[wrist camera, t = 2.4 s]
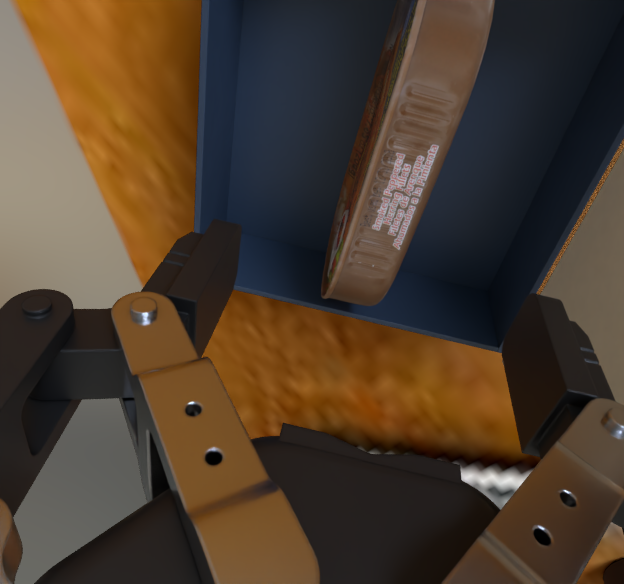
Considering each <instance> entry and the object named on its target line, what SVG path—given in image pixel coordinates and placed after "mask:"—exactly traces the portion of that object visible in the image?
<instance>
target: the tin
mask: <svg viewBox="0 0 624 584" xmlns="http://www.w3.org/2000/svg"><path fill="white" fill-rule="evenodd" d="M494 3H495V0H397V3H396V6H395V9H394V12H393V15H392V19H391V23H390V25H389V28H388V32H387V35H386V38H385V41H384V45H383V48H382V51H381V55H380V59H379V61H378V65H377V68H376V72H375V75H374V79H373V82H372V86H371V89H370V92H369V96H368V99H367V102H366V106H365V109H364V113H363V116H362V119H361V123H360V126H359V130H358V133H357V136H356V140H355V143H354V146H353V150H352V153H351V156H350V160H349V163H348V167H347V170H346V174H345V177H344V181H343V184H342V188H341V192H340V196H339V200H338V203H337V207H336V211H335V215H334V219H333V224H332V228H331V233H330V238H329V243H328V248H327V253H326V260H325V265H324V271H323V276H322V284H321V297H322V298H324V299H327V298H332V299H337V300H341V301H345V302H349V303H353V304H358V305H364V306H374V305H376V304H378V303H379V302H380V301H381V300H382V299H383V298H384V297H385V295H386V294H387V292H388V290H389V289H390V287H391V285H392V283H393V281H394V279H395V277H396V275H397V273H398V270H399V268H400V266H401V263H402V261H403V259H404V256H405V254H406V252H407V250H408V247H409V245H410V242H411V240H412V238H413V236H414V233H415V231H416V228H417V226H418V223H419V221H420V219H421V216H422V214H423V212H424V209H425V207H426V204H427V202H428V200H429V197H430V194H431V192H432V190H433V187H434V185H435V183H436V180H437V178H438V175H439V173H440V170H441V168H442V165H443V163H444V160H445V158H446V155H447V153H448V151H449V148H450V146H451V143H452V141H453V138H454V136H455V133H456V131H457V128H458V126H459V123H460V121H461V118H462V116H463V113H464V111H465V108H466V106H467V103H468V101H469V98H470V95H471V92H472V90H473V87H474V84H475V81H476V78H477V75H478V72H479V69H480V65H481V62H482V59H483V55H484V52H485V49H486V45H487V40H488V36H489V32H490V27H491V23H492V18H493V11H494Z"/></svg>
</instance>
